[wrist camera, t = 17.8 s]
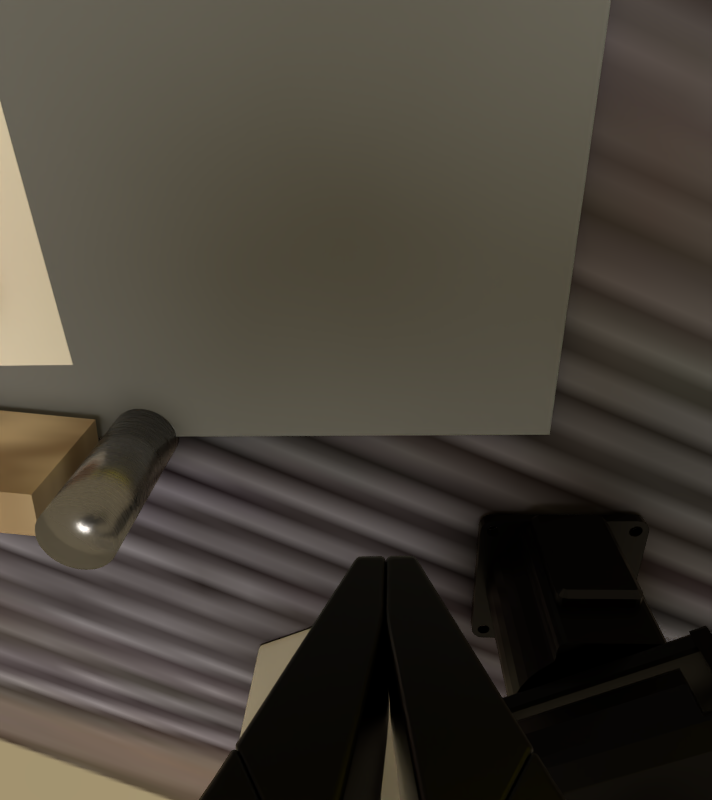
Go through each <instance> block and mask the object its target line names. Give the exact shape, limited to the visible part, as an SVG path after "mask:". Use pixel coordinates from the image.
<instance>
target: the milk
mask: <svg viewBox="0 0 712 800" xmlns="http://www.w3.org/2000/svg"><path fill="white" fill-rule="evenodd" d="M310 629H311V628H310ZM310 629H307V630H304V631H301V632H298V633H296V634H293V635H290V636H287V637H284V638H281V639H278V640H275V641H272V642H270V643H267V644H264V645H261V646H260V648H259V652H258V656H257V661H256V666H255V670H254V675H253V679H252V684H251V688H250V693H249V698H248V702H247V707H246V711H245V716H244V720H243V725H242V730H241V734H240V737H241V736H242V734H243V733H244V731H245V730H246V728H247V726H248V725H249V723H250V722H251V720H252V719H253V717H254V716H255V714H256V713H257V711H258V709H259V708H260V706H261V705H262V703H263V702H264V700H265V699H266V697H267V695H268V694H269V692H270V691H271V689H272V688H273V686H274V685H275V683H276V682H277V680H278V678H279V677H280V675H281V674H282V672H283V671H284V669H285V668H286V666H287V665H288V663H289V661H290V660H291V658H292V657H293V655H294V654H295V652H296V651H297V649H298V648H299V646H300V644H301V643H302V641H303V640H304V638H305V637H306V635H307V634H308V632H309V631H310ZM381 800H400V794H399V786H398V778H397V770H396V763H395V755H394V747H393V739H392V730H391V720H390V703H389V721H388V734H387V744H386V753H385V762H384V772H383V781H382V790H381Z"/></svg>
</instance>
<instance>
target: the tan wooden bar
mask: <svg viewBox="0 0 712 800" xmlns="http://www.w3.org/2000/svg"><path fill="white" fill-rule="evenodd" d="M98 442H99V441H98V434H97V427H96V420H95V419H85V418H74V417H64V416H53V415H43V414H33V413H22V412H12V411H2V410H0V533H11V534H21V535H32V536H36V535H35V524H36V521H37V519H38V518H39V516H40V515H41V514H42V513H43V511H44V510H45V509H46V507H47V506H48V505H49V504H50V502H51V501H52V500H53V499H54V497H55V496H56V495H57V494H58V492H59V491H60V490H61V489H62V487H63V486H64V485H65V484H66V482H67V481H68V480H69V478H70V477H71V476H72V475H73V473H74V472H75V471H76V470H77V468H78V467H79V466H80V465H81V463H82V462H83V461H84V460H85V458H86V457H87V456H88V454H89V453H90V452H91V451H92V449H93V448H94V447H95V446H96V444H97V443H98Z"/></svg>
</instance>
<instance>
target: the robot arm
mask: <svg viewBox="0 0 712 800" xmlns="http://www.w3.org/2000/svg"><path fill="white" fill-rule="evenodd" d="M491 526H496V528H495V529H492V530H491V529H488V528H489V527H491ZM636 526H638V527H637V528H636V529H633V530H630V529H631V528H633V527H636ZM648 533H649V527H648V525H647V524H646V522H645V520H644V519H643V518H642V517H641V516H639V515H487V516H485V517H483V518H482V519H481V521H480V523H479V531H478V542H477V554H476V566H475V578H474V590H473V602H472V614H471V626H472V632H473V633H474V635H476V636H478V637H493V638H495V639H496V644H497V649H498V654H499V659H500V663H501V668H502V673H503V678H504V683H505V688H506V693H507V696H506V697H503V698H502V697H501V695H500V693H499V692H498V690H497V688H496V687H495V685H494V684H493V682H492V680H491V679H490V677H489V676H488V674H487V672H486V671H485V669H484V667H483V666H482V664H481V663H480V661H479V659H478V658H477V656H476V654H475V653H474V651H473V650H472V648H471V646H470V645H469V643H468V641H467V640H466V638H465V637H464V635H463V633H462V632H461V630H460V629H459V627H458V625H457V624H456V622H455V620H454V619H453V617H452V616H451V614H450V612H449V611H448V609H447V607H446V606H445V604H444V603H443V601H442V599H441V598H440V596H439V595H438V593H437V591H436V590H435V588H434V586H433V585H432V583H431V582H430V580H429V578H428V577H427V575H426V573H425V572H424V570H423V569H422V567H421V565H420V564H419V562H418V561H417V559H416V558H415V557H413V556H390V557H388V558H387V560H385V558H384V557H382V556H362V557H358V558H357V559H356V560H355V561H354V562H353V564H352V566H351V567H350V569H349V570H348V572H347V573H346V575H345V576H344V578H343V579H342V581H341V583H340V584H339V586H338V587H337V589H336V590H335V592H334V593H333V595H332V597H331V598H330V600H329V601H328V603H327V604H326V606H325V607H324V609H323V610H322V612H321V614H320V615H319V617H318V618H317V620H316V621H315V623H314V624H313V626H312V627H311V629H310V631H309V632H308V634H307V635H306V637H305V638H304V640H303V641H302V643H301V644H300V646H299V648H298V649H297V651H296V652H295V654H294V655H293V657H292V658H291V660H290V661H289V663H288V665H287V666H286V668H285V669H284V671H283V672H282V674H281V675H280V677H279V678H278V680H277V682H276V683H275V685H274V686H273V688H272V689H271V691H270V692H269V694H268V695H267V697H266V699H265V700H264V702H263V703H262V705H261V706H260V708H259V709H258V711H257V713H256V714H255V716H254V717H253V719H252V720H251V722H250V723H249V725H248V726H247V728H246V730H245V731H244V733H243V734H242V736H241V737H240V739H239V740H238V742H237V743H236V750H232V751H231V752H230V754H229V755H228V757H227V758H226V760H225V761H224V763H223V765H222V766H221V768H220V769H219V771H218V772H217V774H216V775H215V777H214V779H213V780H212V782H211V783H210V784H209V786H208V787H207V789H206V790H205V792H204V793H203V795H202V796H201V798H200V799H199V800H381V790H382V781H383V772H384V762H385V753H386V744H387V734H388V721H389V703H390V720H391V730H392V739H393V747H394V755H395V763H396V770H397V778H398V786H399V794H400V800H712V634H711V633H710V631H709V630H708V628H707V626H704V627H701V628H698V629H695V630H692V631H689V633H690V635H687V636H684V637H681V638H679V639H676V640H673V641H670V642H666V640H665V638H664V636H663V634H662V632H661V630H660V628H659V626H658V624H657V622H656V620H655V618H654V616H653V614H652V612H651V610H650V608H649V606H648V604H647V602H646V600H645V598H644V596H643V592H642V590H641V588H640V586H639V584H638V582H637V576H638V572H639V569H640V565H641V561H642V557H643V553H644V549H645V545H646V541H647V537H648ZM482 625H485V626H482Z"/></svg>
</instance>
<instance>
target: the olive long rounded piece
mask: <svg viewBox="0 0 712 800" xmlns="http://www.w3.org/2000/svg"><path fill="white" fill-rule="evenodd" d="M178 442H179V437H176V433H175V431H174V429H173V427H172V426H171V424H170V423H169V422H168V421H167V420H166V419H165V418H164V417H162V416H161V415H159V414H157V413H156V412H153V411H150V410H146V409H132V410H128V411H126V412H124V413H122V414H121V415H120V416H119V417H118V418H117V419H116V420H115V422H114V423H113V424H112V425H111V427H110V428H109V429H108V431H107V432H106V433H105V434H104V436H103V437H102V438H101V439H100V441H99V442H98V443H97V444H96V446H95V447H94V448H93V449H92V451H91V452H90V453H89V454H88V456H87V457H86V458H85V460H84V461H83V462H82V463H81V465H80V466H79V467H78V468H77V470H76V471H75V472H74V473H73V475H72V476H71V477H70V478H69V480H68V481H67V482H66V484H65V485H64V486H63V487H62V489H61V490H60V491H59V492H58V494H57V495H56V496H55V497H54V499H53V500H52V501H51V502H50V504H49V505H48V506H47V507H46V509H45V510H44V511H43V513H42V514H41V515H40V516H39V518H38V519H37V521H36V524H35V535H36V539H37V541H38V543H39V545H40V546H41V548H42V549H43V550H44V551H45V552H46V553H47V554H48V555H49V556H50V557H51V558H53V559H54V560H56V561H57V562H59V563H61V564H63V565H66V566H69V567H72V568H76V569H85V570H88V569H96V568H100V567H103V566H105V565H106V564H108V563H109V562H111V561H112V559H113V558H114V557H115V555H116V553H117V551H118V550H119V548H120V546H121V544H122V543H123V541H124V539H125V537H126V535H127V534H128V532H129V530H130V528H131V527H132V525H133V523H134V521H135V520H136V518H137V516H138V514H139V513H140V511H141V509H142V507H143V505H144V504H145V502H146V500H147V498H148V497H149V495H150V493H151V491H152V490H153V488H154V486H155V484H156V483H157V481H158V479H159V477H160V475H161V474H162V472H163V470H164V468H165V467H166V465H167V463H168V461H169V460H170V458H171V456H172V454H173V453H174V451H175V449H176V447H177V445H178Z"/></svg>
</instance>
